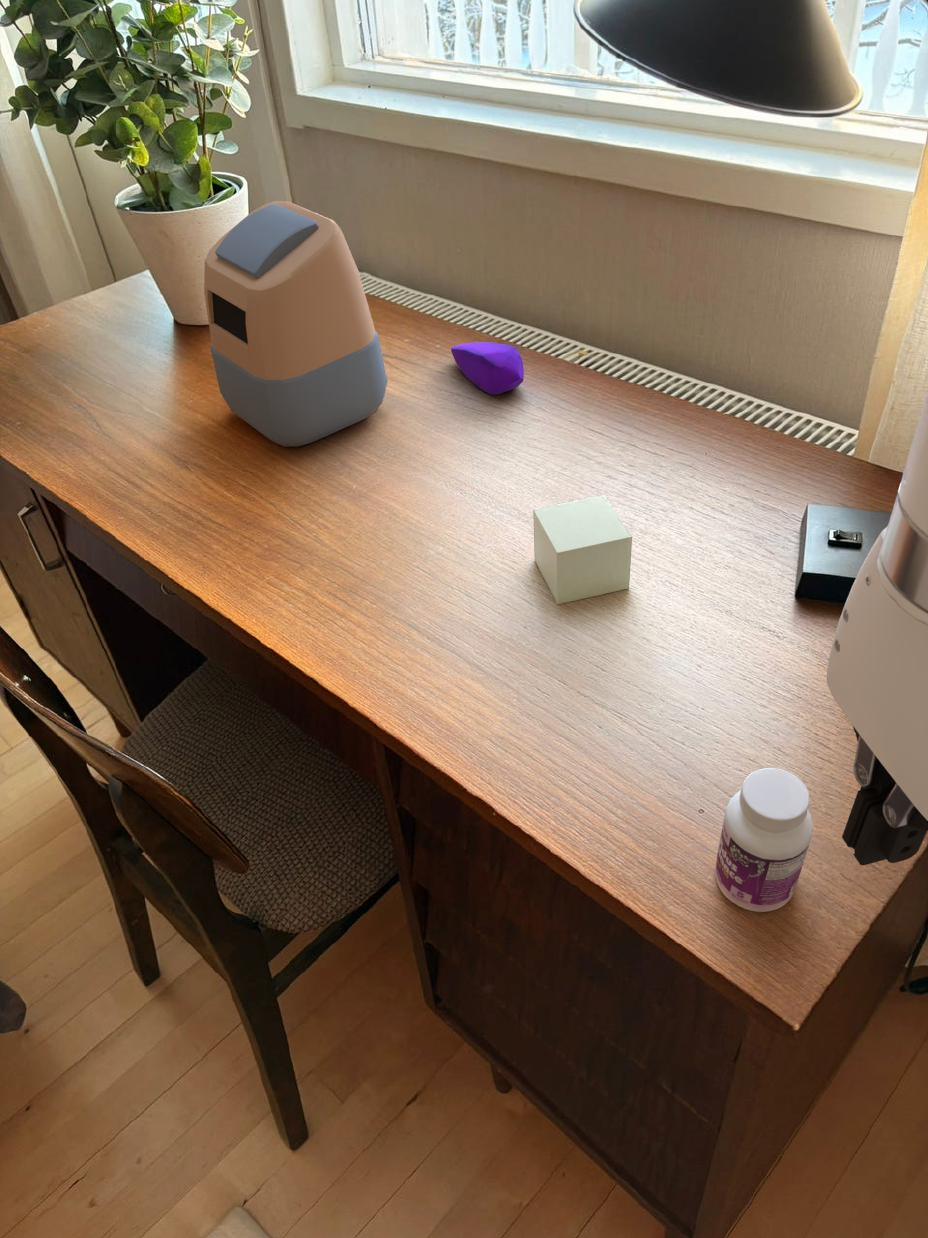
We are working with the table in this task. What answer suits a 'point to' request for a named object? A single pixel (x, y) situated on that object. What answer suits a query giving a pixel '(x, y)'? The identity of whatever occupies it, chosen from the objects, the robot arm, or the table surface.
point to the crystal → (490, 365)
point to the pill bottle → (764, 840)
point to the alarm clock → (292, 326)
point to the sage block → (582, 549)
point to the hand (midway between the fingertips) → (878, 845)
